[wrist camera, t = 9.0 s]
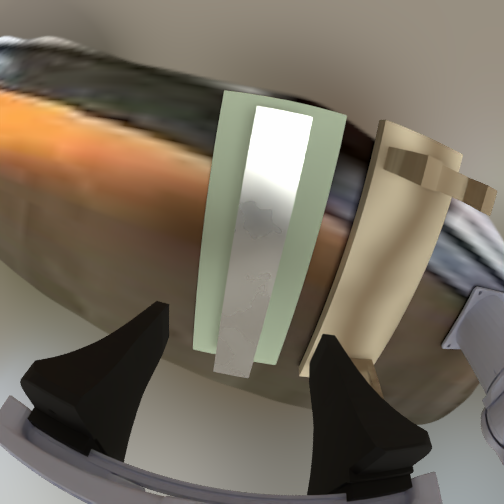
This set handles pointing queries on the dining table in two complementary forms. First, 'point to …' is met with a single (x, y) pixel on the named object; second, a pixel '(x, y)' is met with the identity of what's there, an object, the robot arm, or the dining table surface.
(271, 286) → the rail
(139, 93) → the dining table surface
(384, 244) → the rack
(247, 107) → the mat
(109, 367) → the robot arm
